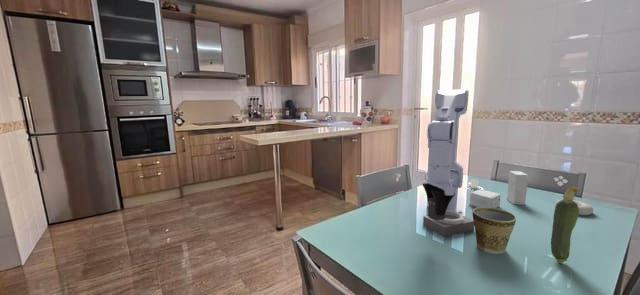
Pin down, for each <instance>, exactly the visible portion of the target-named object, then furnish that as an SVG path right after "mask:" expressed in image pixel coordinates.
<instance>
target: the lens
mask: <svg viewBox="0 0 640 295" xmlns="http://www.w3.org/2000/svg"><path fill="white" fill-rule="evenodd" d="M427 205H428V207H427V215H428V217H429V218H431V219H435V220H443V219H444V218H445V215H444V216H437V215H436V212H435V201H434V197H431V198H429V203H428V202H427Z"/></svg>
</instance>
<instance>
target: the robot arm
mask: <svg viewBox="0 0 640 295" xmlns="http://www.w3.org/2000/svg"><path fill="white" fill-rule="evenodd" d="M469 91H470V90H468V89H467V88H465V89H446V90H445V89H444V90H441V89H438V90H437V91H435V98H434V107H435V109H436V111H435V112H434V113H435V114H434V117H433V119H432V122H429V123H428V125H427V130H426V131H427V132H426V136H427V137H426V138H427V149H428V157H427V158H428V161H427V173H425V174H424V180H425V181H426V182H424V183H422V187H423V189H424V191H425V195H426V198H427V199H426V200H427V205H426V207H427V208H428V203H429V198H431V197H434V201H435V212H436V215H437V216H444V215H445V213H446V210H451V211H455V212H458V213H460V214H461V213H463V211H462V210H461V209H459V208H457V206H458V192H459V189H461V188H462V187H463V183H464V180H463V179H464V168H463V166H462V165H461V164H460V163H459V162H458V161H457V160H456V155H457V141H458V130H459V128H458V126H459V119H460V118H461V116H462V115H465V114H466V113H467V111H468V105H469V96H470V95H469V93H470V92H469Z"/></svg>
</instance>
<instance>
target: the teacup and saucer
mask: <svg viewBox="0 0 640 295" xmlns="http://www.w3.org/2000/svg"><path fill="white" fill-rule="evenodd" d="M478 185H479V180H477V179H470V182H469V181H468V183H467V185H464V186H463V187H464V189H466V190H468V191H472V190H475V191H477V190H478V189H477V188H479V189H480V188H481V189H482V190H485V189H484V187H481V186H478ZM467 186H468V187H471V188H468V187H467ZM471 189H472V190H471Z"/></svg>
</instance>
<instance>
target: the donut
mask: <svg viewBox="0 0 640 295" xmlns="http://www.w3.org/2000/svg"><path fill="white" fill-rule="evenodd" d="M561 200H562V199H559V200H558V201H556V202H555V204H557V203H558V202H559V201H561ZM573 201H574V202H575V203H576V204H577V206H578V208H579V215H578V216H589V215H592V214H593V213H594V208H593V206H592V205H590V204H588V203H587V202H584V201H579V200H575V199H574V200H573Z"/></svg>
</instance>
